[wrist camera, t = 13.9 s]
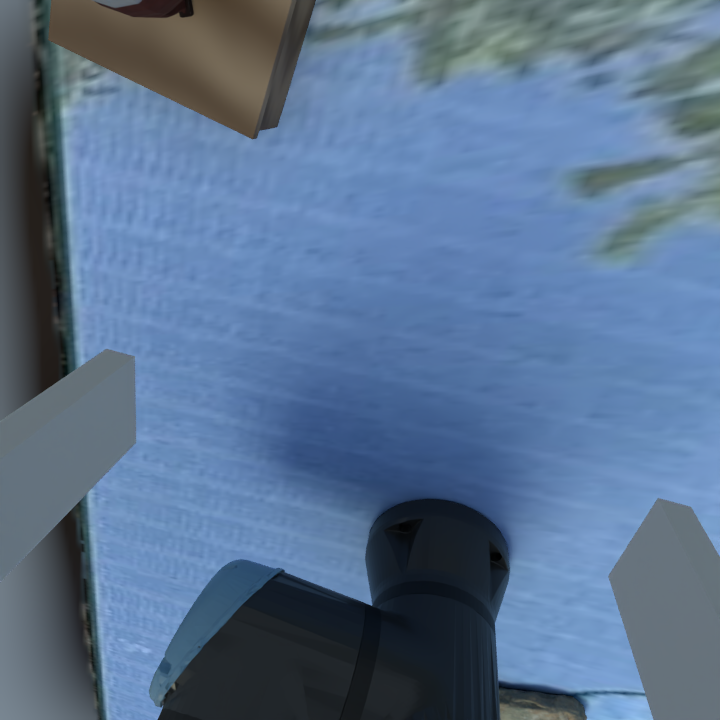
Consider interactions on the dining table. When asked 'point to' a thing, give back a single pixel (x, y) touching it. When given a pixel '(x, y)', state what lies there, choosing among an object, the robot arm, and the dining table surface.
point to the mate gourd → (150, 7)
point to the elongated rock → (538, 706)
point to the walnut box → (197, 53)
